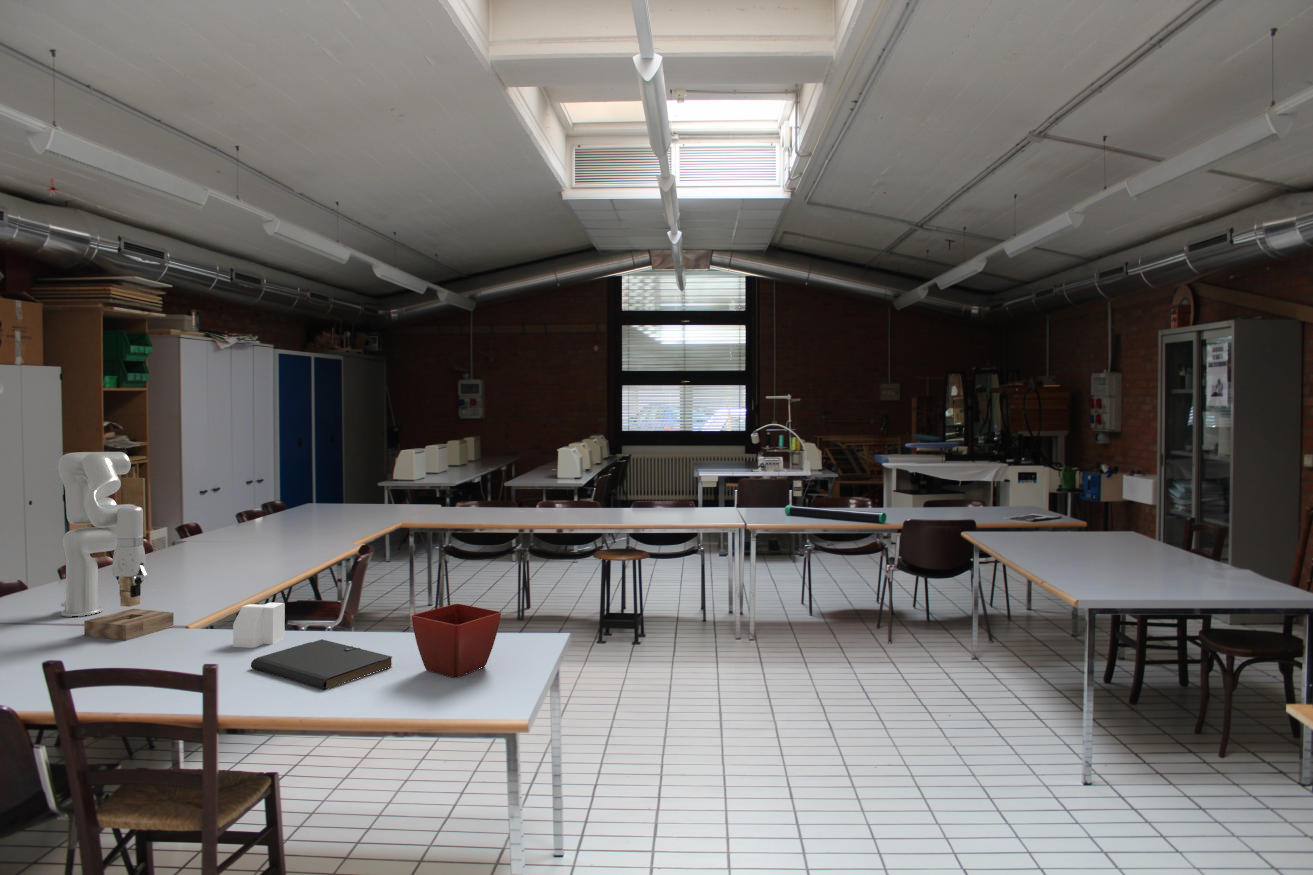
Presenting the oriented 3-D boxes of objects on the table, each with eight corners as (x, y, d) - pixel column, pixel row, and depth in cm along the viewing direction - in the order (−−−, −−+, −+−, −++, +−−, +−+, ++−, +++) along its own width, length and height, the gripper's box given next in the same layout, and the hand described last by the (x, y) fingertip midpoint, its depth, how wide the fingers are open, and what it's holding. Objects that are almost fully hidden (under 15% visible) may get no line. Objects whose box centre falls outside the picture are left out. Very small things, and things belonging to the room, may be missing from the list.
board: (84, 635, 262) (84, 620, 262) (133, 622, 279) (133, 608, 279) (126, 640, 257) (126, 625, 257) (173, 626, 274) (173, 612, 274)
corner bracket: (284, 638, 262) (284, 602, 262) (264, 648, 251) (264, 611, 251) (254, 637, 263) (254, 601, 263) (233, 646, 252) (233, 609, 252)
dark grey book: (393, 655, 234) (322, 678, 213) (393, 668, 234) (323, 693, 214) (322, 637, 251) (250, 658, 230) (322, 650, 251) (250, 672, 230)
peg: (120, 605, 266) (120, 576, 266) (131, 603, 270) (131, 574, 270) (129, 606, 265) (129, 577, 265) (140, 604, 269) (140, 575, 269)
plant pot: (502, 666, 237) (502, 611, 236) (456, 684, 220) (457, 624, 220) (456, 655, 246) (456, 602, 246) (409, 672, 230) (409, 615, 230)
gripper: (100, 543, 266) (100, 596, 266) (139, 545, 261) (139, 599, 262) (121, 539, 273) (121, 591, 273) (159, 542, 269) (159, 595, 269)
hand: (130, 595), depth 268 cm, fingers closed on peg, 4 cm apart
